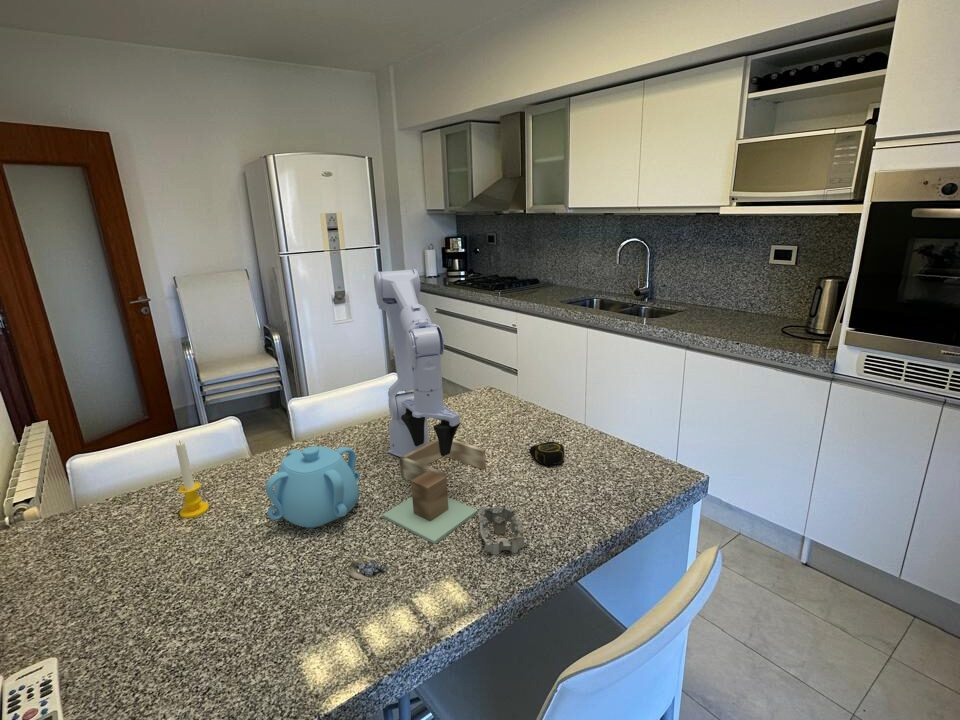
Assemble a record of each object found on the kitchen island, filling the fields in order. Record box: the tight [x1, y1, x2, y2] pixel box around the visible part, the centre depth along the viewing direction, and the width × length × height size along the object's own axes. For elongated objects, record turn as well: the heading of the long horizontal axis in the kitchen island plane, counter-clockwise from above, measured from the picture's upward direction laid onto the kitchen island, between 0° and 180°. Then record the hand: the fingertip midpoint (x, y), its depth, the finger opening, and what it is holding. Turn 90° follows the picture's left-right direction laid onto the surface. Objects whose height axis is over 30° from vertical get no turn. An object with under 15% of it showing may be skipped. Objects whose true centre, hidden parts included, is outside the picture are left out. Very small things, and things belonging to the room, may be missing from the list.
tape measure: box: [528, 441, 565, 466], centre depth 117 cm, size 7×7×4 cm
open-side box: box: [398, 438, 487, 482], centre depth 114 cm, size 13×14×4 cm
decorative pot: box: [265, 445, 361, 530], centre depth 99 cm, size 16×16×14 cm
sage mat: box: [381, 496, 479, 545], centre depth 98 cm, size 14×12×1 cm
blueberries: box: [346, 554, 389, 582], centre depth 84 cm, size 7×8×2 cm
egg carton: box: [478, 506, 524, 556], centre depth 90 cm, size 10×7×4 cm
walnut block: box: [410, 471, 449, 521], centre depth 97 cm, size 4×5×7 cm
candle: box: [175, 440, 210, 519], centre depth 101 cm, size 5×5×16 cm
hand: (432, 449), depth 105 cm, fingers open, 7 cm apart
